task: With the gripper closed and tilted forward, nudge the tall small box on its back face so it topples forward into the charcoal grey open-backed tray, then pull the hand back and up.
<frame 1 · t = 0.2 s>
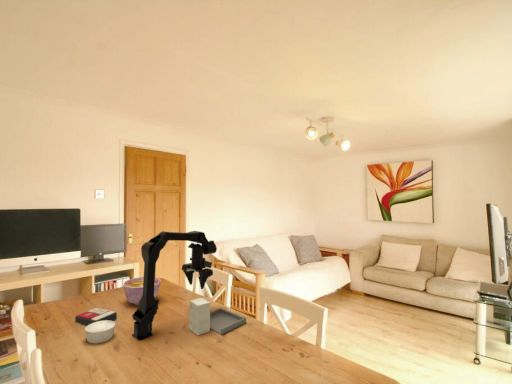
hand: (196, 286, 141), 15 cm above the table, tool pointing down, fingers open, 9 cm apart
red and grey box: (96, 321, 134), on the table
small box: (199, 330, 126), on the table
ramekin: (100, 338, 118), on the table
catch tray: (221, 322, 133), on the table
bowl of food: (141, 302, 157), on the table
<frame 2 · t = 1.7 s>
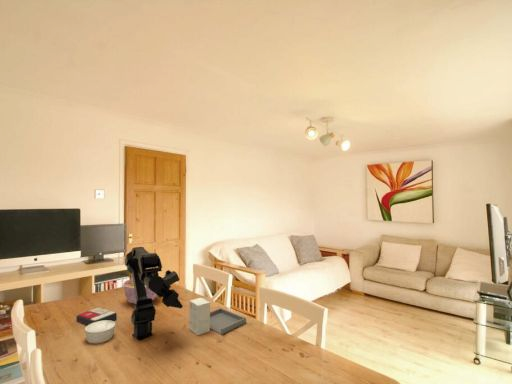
hand: (178, 303, 122), 14 cm above the table, tool tilted 45°, fingers open, 9 cm apart
nothing on the table moved.
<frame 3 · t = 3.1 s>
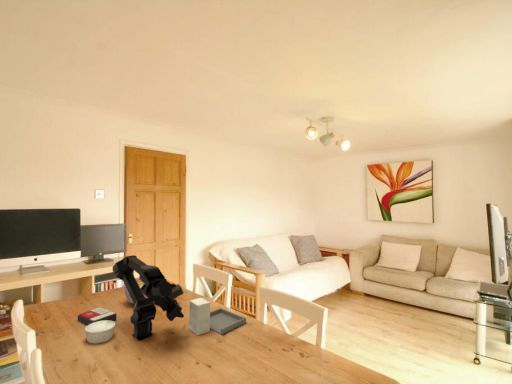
hand: (183, 316, 122), 8 cm above the table, tool tilted 45°, fingers closed
nothing on the table moved.
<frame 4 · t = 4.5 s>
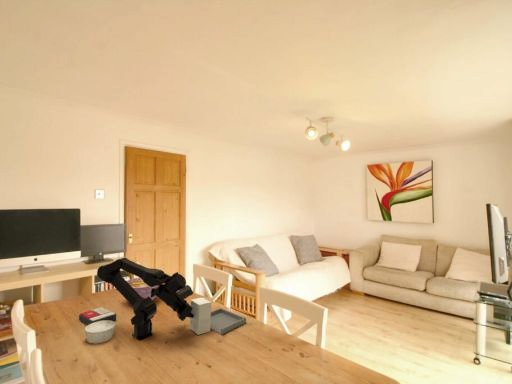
hand: (193, 316, 124), 7 cm above the table, tool tilted 45°, fingers closed
small box: (199, 330, 126), on the table, touching gripper
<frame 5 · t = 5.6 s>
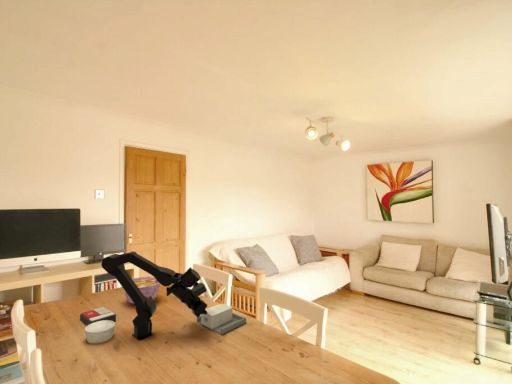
hand: (206, 313, 128), 7 cm above the table, tool tilted 45°, fingers closed
small box: (205, 320, 128), point 4 cm above the table, touching gripper
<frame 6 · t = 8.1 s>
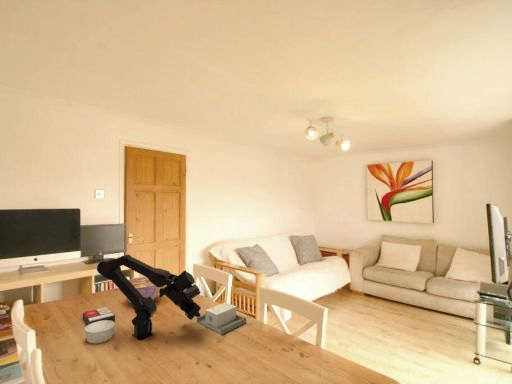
hand: (199, 315, 127), 6 cm above the table, tool tilted 45°, fingers closed
small box: (210, 319, 129), point 4 cm above the table, touching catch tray
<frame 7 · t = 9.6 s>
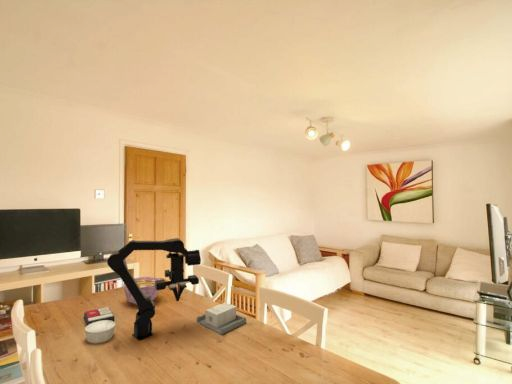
hand: (177, 301, 126), 13 cm above the table, tool pointing down, fingers closed
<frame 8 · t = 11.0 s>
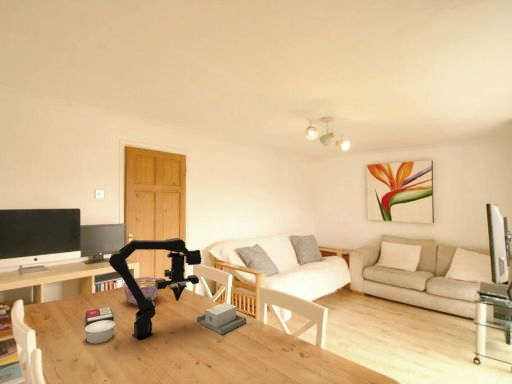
hand: (177, 300, 126), 13 cm above the table, tool pointing down, fingers closed
at the end: small box tilted 89°; small box touching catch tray; small box inside the target area (0.2 cm from its centre), point 3.6 cm above the table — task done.
